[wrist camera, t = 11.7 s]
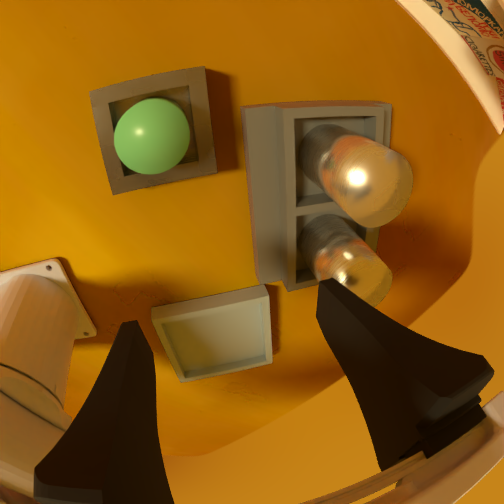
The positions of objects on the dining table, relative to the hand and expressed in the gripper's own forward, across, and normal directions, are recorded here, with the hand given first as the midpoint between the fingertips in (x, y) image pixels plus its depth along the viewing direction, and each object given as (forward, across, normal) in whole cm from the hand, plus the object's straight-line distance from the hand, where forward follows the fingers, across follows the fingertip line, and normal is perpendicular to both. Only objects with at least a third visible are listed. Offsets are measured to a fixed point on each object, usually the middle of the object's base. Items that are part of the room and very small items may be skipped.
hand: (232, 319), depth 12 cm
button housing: (+10, +2, -6) cm, 12 cm away
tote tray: (+10, +1, +12) cm, 16 cm away
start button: (+9, +2, -6) cm, 11 cm away
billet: (+9, -8, +3) cm, 12 cm away
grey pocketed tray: (+10, -8, 0) cm, 13 cm away
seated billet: (+9, -8, -3) cm, 12 cm away
